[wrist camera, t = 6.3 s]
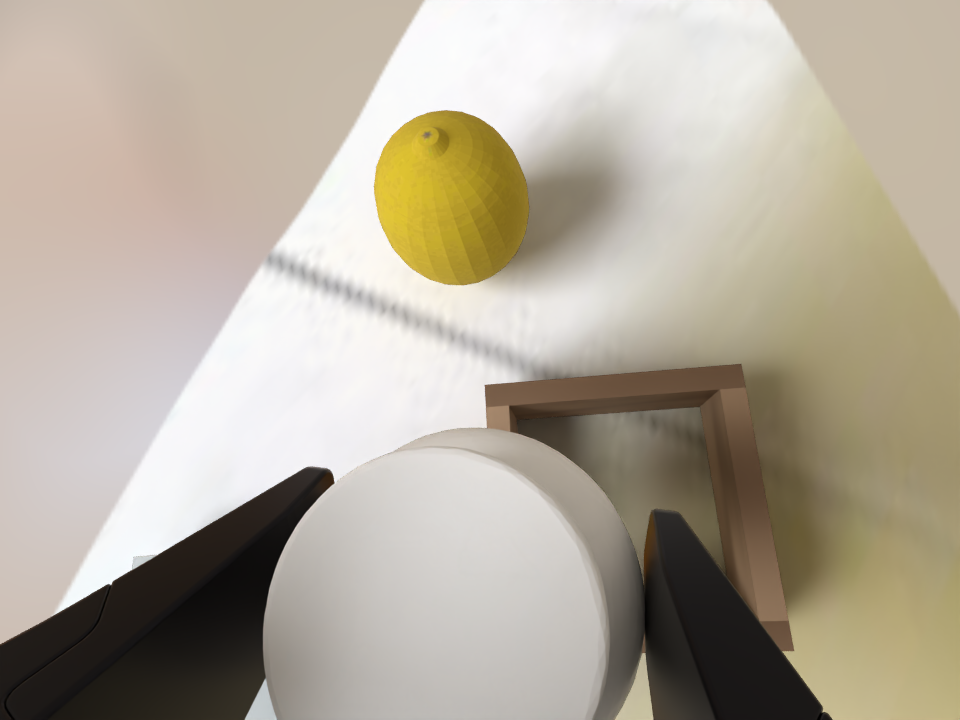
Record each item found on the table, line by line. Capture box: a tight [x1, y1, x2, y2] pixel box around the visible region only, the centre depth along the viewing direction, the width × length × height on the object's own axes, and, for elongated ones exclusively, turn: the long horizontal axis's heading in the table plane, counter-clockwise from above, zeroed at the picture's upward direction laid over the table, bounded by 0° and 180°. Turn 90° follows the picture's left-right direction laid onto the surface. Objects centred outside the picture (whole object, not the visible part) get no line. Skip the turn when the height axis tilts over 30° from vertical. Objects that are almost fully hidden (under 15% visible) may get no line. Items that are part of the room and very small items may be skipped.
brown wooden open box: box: [485, 364, 794, 653], centre depth 19 cm, size 9×9×3 cm
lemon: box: [374, 110, 529, 285], centre depth 21 cm, size 6×6×8 cm
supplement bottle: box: [263, 428, 645, 720], centre depth 11 cm, size 5×5×10 cm
